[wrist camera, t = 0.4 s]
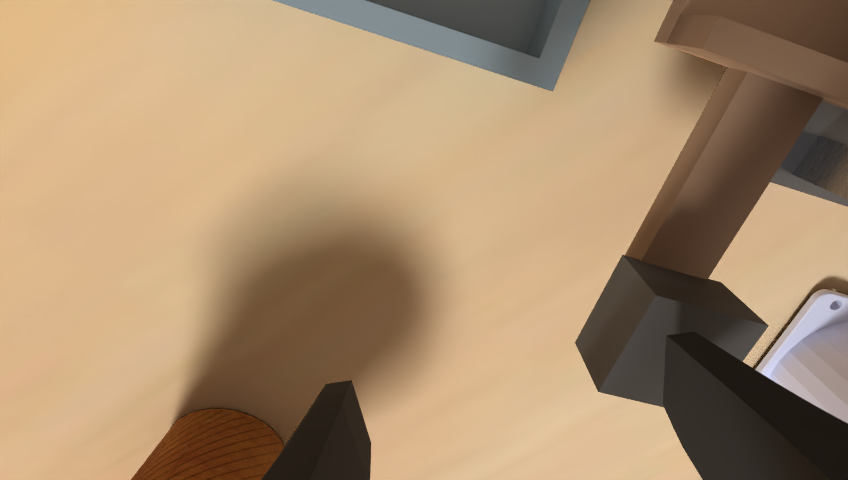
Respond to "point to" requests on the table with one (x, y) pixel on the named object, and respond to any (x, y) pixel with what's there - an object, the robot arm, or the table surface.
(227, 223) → the table surface
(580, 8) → the tray
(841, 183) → the chute stand
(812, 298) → the robot arm
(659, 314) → the chute
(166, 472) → the disposable coffee cup
